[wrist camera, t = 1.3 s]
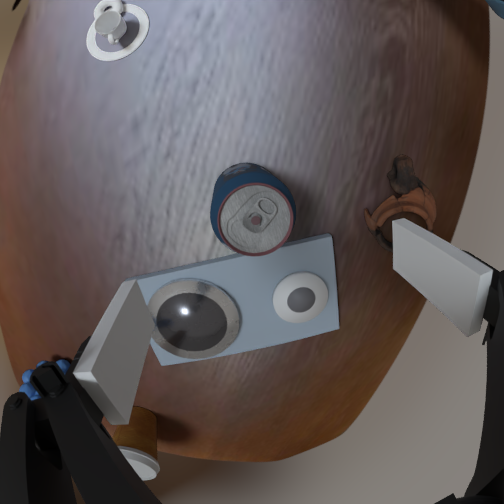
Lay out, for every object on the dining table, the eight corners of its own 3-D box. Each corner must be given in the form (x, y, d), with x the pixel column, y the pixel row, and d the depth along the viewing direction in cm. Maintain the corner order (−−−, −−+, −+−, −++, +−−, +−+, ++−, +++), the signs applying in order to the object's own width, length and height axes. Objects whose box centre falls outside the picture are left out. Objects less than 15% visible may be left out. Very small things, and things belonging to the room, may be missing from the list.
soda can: (249, 233, 35) (262, 279, 24) (201, 198, 33) (190, 230, 22) (287, 187, 34) (319, 213, 23) (239, 149, 32) (248, 155, 21)
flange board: (328, 233, 36) (334, 239, 34) (336, 323, 42) (341, 333, 39) (126, 278, 36) (121, 287, 34) (162, 360, 41) (160, 370, 39)
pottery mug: (429, 215, 37) (441, 255, 32) (367, 222, 41) (370, 263, 36) (423, 137, 30) (442, 169, 24) (351, 147, 34) (354, 181, 29)
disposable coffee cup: (168, 432, 48) (163, 484, 37) (121, 427, 47) (110, 476, 36) (162, 403, 45) (153, 460, 34) (110, 397, 44) (94, 450, 33)
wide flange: (226, 268, 35) (226, 272, 34) (247, 345, 40) (248, 350, 39) (133, 288, 35) (131, 292, 34) (165, 360, 40) (164, 365, 39)
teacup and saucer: (97, 3, 23) (85, -8, 19) (157, -2, 24) (150, -16, 20) (82, 64, 26) (67, 57, 22) (143, 60, 27) (133, 51, 23)
